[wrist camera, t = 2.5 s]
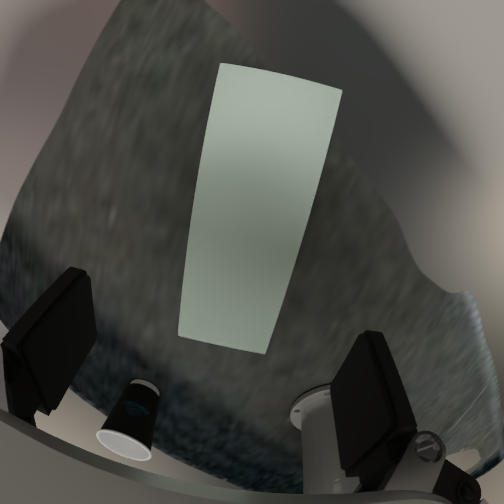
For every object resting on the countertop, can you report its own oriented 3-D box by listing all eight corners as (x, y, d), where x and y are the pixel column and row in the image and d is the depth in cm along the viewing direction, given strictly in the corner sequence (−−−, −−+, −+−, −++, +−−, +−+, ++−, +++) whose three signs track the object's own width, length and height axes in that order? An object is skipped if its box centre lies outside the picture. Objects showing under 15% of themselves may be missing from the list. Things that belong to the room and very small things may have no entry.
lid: (333, 93, 17) (342, 90, 15) (265, 334, 26) (265, 354, 24) (226, 69, 17) (220, 62, 15) (184, 317, 26) (177, 335, 23)
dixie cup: (155, 371, 39) (131, 434, 29) (177, 404, 42) (161, 463, 32) (112, 372, 40) (85, 427, 30) (136, 404, 43) (116, 457, 33)
